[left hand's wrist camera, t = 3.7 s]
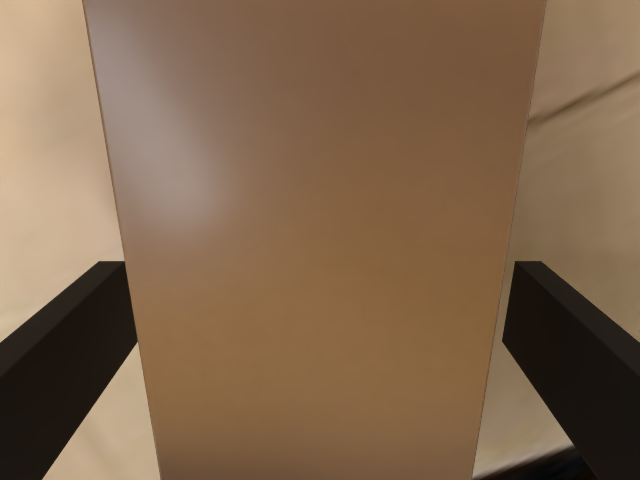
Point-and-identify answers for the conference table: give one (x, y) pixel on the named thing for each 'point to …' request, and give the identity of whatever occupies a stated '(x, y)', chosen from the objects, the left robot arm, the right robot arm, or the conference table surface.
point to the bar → (315, 224)
